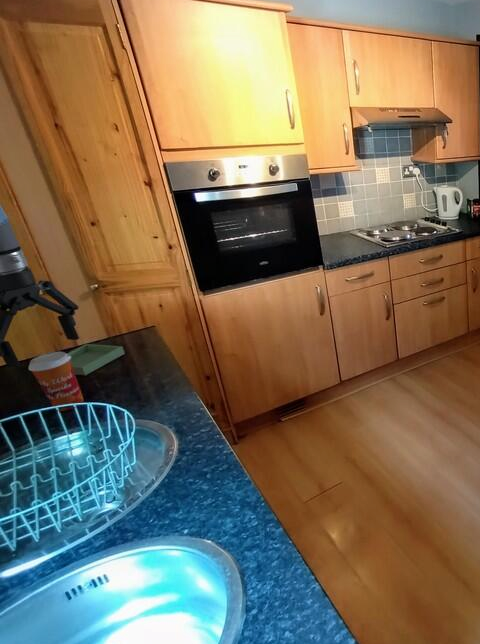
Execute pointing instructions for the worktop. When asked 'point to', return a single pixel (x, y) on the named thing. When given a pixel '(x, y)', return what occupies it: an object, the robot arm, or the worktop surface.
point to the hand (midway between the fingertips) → (45, 352)
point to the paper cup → (57, 378)
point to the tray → (93, 357)
